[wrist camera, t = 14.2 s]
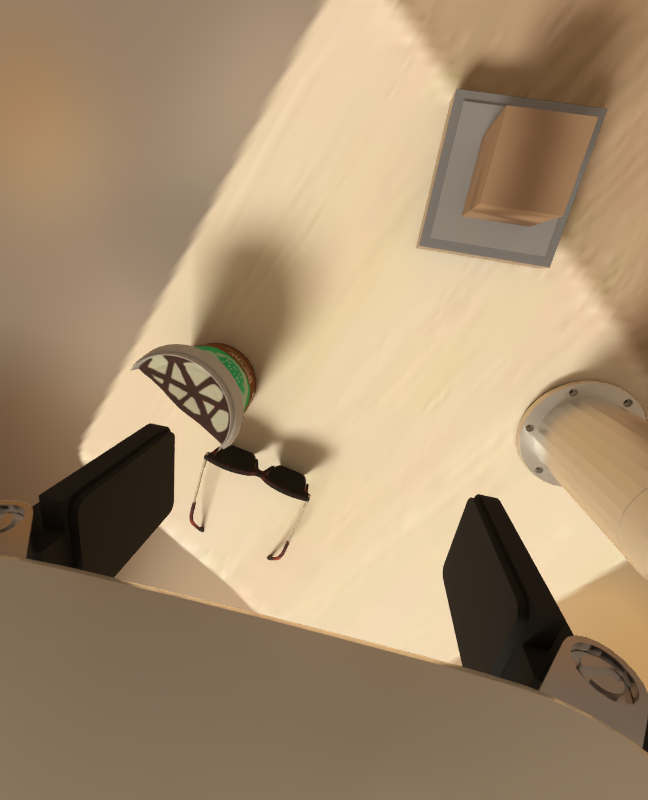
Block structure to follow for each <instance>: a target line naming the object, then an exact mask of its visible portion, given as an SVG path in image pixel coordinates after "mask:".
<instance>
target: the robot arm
mask: <svg viewBox="0 0 648 800" xmlns="http://www.w3.org/2000/svg"><path fill="white" fill-rule="evenodd" d="M570 390H571V391H570ZM569 391H570V392H569ZM527 425H528V426H527ZM526 426H527V427H526ZM516 445H517V449H518V454H519V456H520V458H521V460H522V462H523V463H524V464H525V466H526V467H527V468H528V470H529V471H530V472H531V473H532V474H533V475H535V476H536V477H538V478H539V479H541V480H542V481H544V482H547V483H549V484H552V485H556V486H560V487H563V488H564V489H565V490H566V491H567V492H568V493H569V494H570V496H571V497H572V498H573V499H574V500H575V501H576V502H577V503H578V505H579V506H580V507H581V508H582V509H583V510H584V511H585V513H586V514H587V515H588V516H589V517H590V518H591V519H592V520H593V522H594V523H595V524H596V525H597V526H598V527H599V528H600V529H601V531H602V532H603V533H604V534H605V535H606V536H607V537H608V539H609V540H610V541H611V542H612V543H613V544H614V545H615V546H616V548H617V549H618V550H619V551H620V552H621V553H622V554H623V555H624V557H625V558H626V559H627V560H628V561H629V562H630V563H631V564H632V565H633V566H634V567H635V569H636V570H637V571H638V572H639V573H640V574H641V575H642V576H643V577H644V578H645V579H646V580H647V581H648V421H647V419H646V415H645V413H644V410H643V408H642V406H641V405H640V404H639V402H638V401H637V399H635V398H634V397H633V396H632V395H631V394H629V393H628V392H626V391H625V390H623V389H621V388H619V387H616V386H614V385H611V384H609V383H605V382H600V381H578V382H571V383H568V384H565V385H562V386H559V387H557V388H555V389H552V390H550V391H548V392H547V393H545V394H544V395H543V396H541V397H540V398H538V399H537V400H536V401H535V402H534V403H533V404H532V405H531V406H530V407H529V408H528V410H527V411H526V413H525V414H524V415H523V417H522V419H521V422H520V424H519V426H518V431H517V435H516ZM174 452H175V436H174V434H173V433H172V432H170V429H169V428H168V427H165V426H160V425H156V424H148V425H146V426H145V427H143V428H141V429H140V430H138V431H137V432H135V433H134V434H132V435H131V436H129V437H128V438H126V439H125V440H123V441H122V442H120V443H118V444H117V445H115V446H114V447H112V448H111V449H109V450H108V451H106V452H105V453H103V454H102V455H100V456H99V457H97V458H95V459H94V460H92V461H91V462H89V463H88V464H86V465H85V466H83V467H82V468H80V469H79V470H77V471H76V472H74V473H72V474H71V475H69V476H68V477H67V478H65V479H63V480H62V481H60V482H59V483H57V484H56V485H54V486H53V487H51V488H49V489H48V490H46V491H45V492H43V493H42V494H40V495H39V501H40V502H39V503H37V504H36V505H34V506H33V507H31V506H30V505H29V504H28V503H25V502H22V501H14V500H7V501H0V800H648V693H647V691H646V688H645V686H644V684H643V682H642V681H641V680H640V678H639V677H638V676H637V674H636V673H635V671H633V669H632V668H631V667H630V666H629V665H628V664H627V663H626V662H625V661H624V660H623V659H622V658H620V657H619V656H618V655H617V654H615V653H614V652H613V651H612V650H610V649H609V648H607V647H605V646H604V645H602V644H600V643H599V642H597V641H594V640H592V639H589V638H587V637H582V636H577V635H575V636H574V635H573V633H572V631H571V630H570V628H569V626H568V624H567V622H566V620H565V618H564V616H563V615H562V613H561V611H560V609H559V607H558V606H557V604H556V602H555V600H554V598H553V596H552V595H551V593H550V591H549V589H548V587H547V585H546V584H545V582H544V580H543V578H542V576H541V575H540V573H539V571H538V569H537V567H536V565H535V564H534V562H533V560H532V558H531V556H530V555H529V553H528V551H527V549H526V547H525V545H524V544H523V542H522V540H521V538H520V536H519V535H518V533H517V531H516V529H515V527H514V526H513V524H512V522H511V520H510V518H509V516H508V515H507V513H506V511H505V509H504V507H503V506H502V504H501V502H500V500H499V499H497V498H493V497H489V496H484V495H480V494H478V495H476V496H475V498H469V499H468V501H467V504H466V506H465V509H464V512H463V515H462V517H461V520H460V523H459V525H458V528H457V531H456V533H455V536H454V539H453V542H452V544H451V547H450V550H449V552H448V555H447V558H446V561H445V563H444V566H443V580H444V585H445V589H446V594H447V598H448V603H449V607H450V612H451V616H452V621H453V625H454V630H455V634H456V639H457V643H458V648H459V652H460V657H461V661H462V666H463V667H462V666H458V665H454V664H450V663H447V662H443V661H439V660H436V659H432V658H428V657H425V656H421V655H417V654H414V653H410V652H406V651H402V650H398V649H394V648H390V647H387V646H383V645H379V644H375V643H371V642H367V641H363V640H360V639H356V638H352V637H348V636H344V635H340V634H336V633H333V632H329V631H325V630H321V629H317V628H313V627H309V626H305V625H301V624H297V623H293V622H289V621H286V620H282V619H278V618H274V617H270V616H266V615H262V614H258V613H254V612H250V611H246V610H242V609H238V608H234V607H230V606H226V605H222V604H218V603H214V602H210V601H206V600H202V599H198V598H194V597H190V596H186V595H182V594H178V593H174V592H170V591H166V590H162V589H158V588H153V587H149V586H145V585H141V584H137V583H133V582H129V581H125V580H121V579H117V578H114V577H115V576H116V574H117V573H118V572H119V571H120V570H121V569H122V567H123V566H124V565H125V564H126V563H127V562H128V561H129V560H130V558H131V557H132V556H133V555H134V554H135V553H136V551H137V550H138V549H139V548H140V547H141V546H142V544H143V543H144V542H145V541H146V540H147V539H148V538H149V536H150V535H151V534H152V533H153V532H154V531H155V530H156V528H157V527H158V526H159V525H160V524H161V523H162V522H163V520H164V519H165V518H166V517H167V516H168V515H169V513H170V512H171V510H172V507H173V504H174Z"/></svg>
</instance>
